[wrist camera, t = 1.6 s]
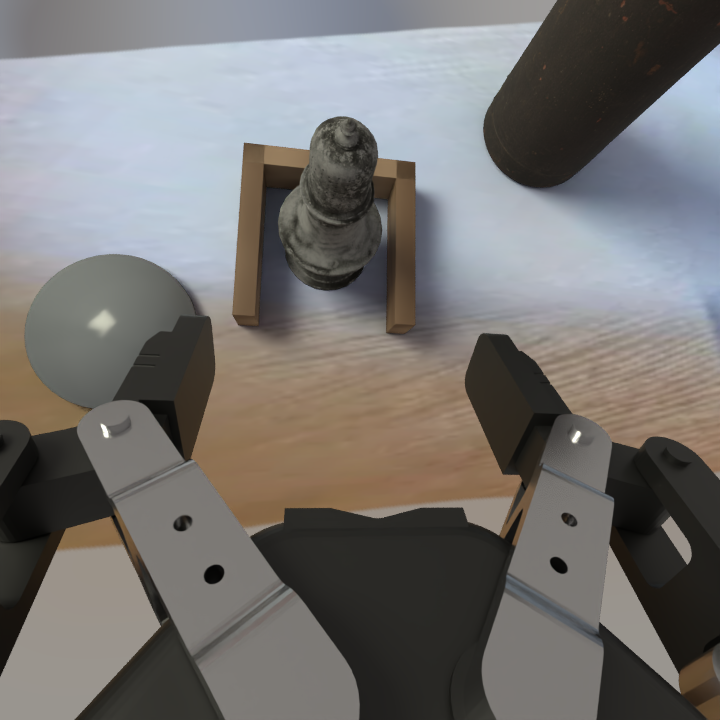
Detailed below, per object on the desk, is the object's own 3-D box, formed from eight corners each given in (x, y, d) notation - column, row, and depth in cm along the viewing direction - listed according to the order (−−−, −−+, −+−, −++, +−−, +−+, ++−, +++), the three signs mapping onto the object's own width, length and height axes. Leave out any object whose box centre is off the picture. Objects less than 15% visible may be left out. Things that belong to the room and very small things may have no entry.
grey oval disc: (20, 407, 23) (13, 407, 22) (42, 252, 24) (36, 248, 24) (191, 411, 24) (189, 411, 24) (203, 264, 26) (201, 260, 25)
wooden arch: (238, 325, 25) (232, 314, 23) (248, 168, 27) (244, 142, 25) (404, 333, 27) (415, 324, 25) (405, 184, 29) (415, 162, 26)
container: (608, 130, 32) (1106, -334, 12) (554, 217, 30) (1039, -166, 10) (516, 62, 31) (880, -529, 12) (456, 146, 30) (768, -389, 10)
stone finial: (307, 310, 26) (318, 220, 15) (263, 230, 27) (238, 79, 15) (387, 270, 27) (455, 158, 16) (344, 194, 28) (379, 28, 16)
